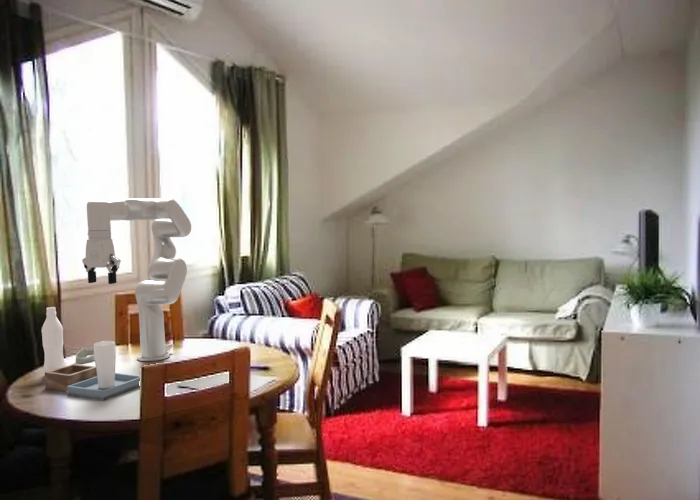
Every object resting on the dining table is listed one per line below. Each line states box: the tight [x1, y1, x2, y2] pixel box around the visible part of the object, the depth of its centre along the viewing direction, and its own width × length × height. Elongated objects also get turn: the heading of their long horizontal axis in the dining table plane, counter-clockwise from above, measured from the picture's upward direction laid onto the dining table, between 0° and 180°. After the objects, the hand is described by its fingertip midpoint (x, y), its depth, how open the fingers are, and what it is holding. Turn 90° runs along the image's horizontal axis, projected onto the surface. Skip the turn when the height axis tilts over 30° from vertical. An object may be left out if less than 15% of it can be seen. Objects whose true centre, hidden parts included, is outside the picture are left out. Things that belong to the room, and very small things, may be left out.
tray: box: [66, 372, 141, 401], centre depth 207 cm, size 18×16×3 cm
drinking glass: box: [93, 340, 117, 389], centre depth 207 cm, size 7×7×15 cm
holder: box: [44, 363, 97, 392], centre depth 214 cm, size 12×12×6 cm
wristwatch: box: [75, 347, 95, 364], centre depth 248 cm, size 9×6×5 cm
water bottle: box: [41, 306, 66, 373], centre depth 228 cm, size 7×7×25 cm
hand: (102, 283), depth 221 cm, fingers open, 9 cm apart
